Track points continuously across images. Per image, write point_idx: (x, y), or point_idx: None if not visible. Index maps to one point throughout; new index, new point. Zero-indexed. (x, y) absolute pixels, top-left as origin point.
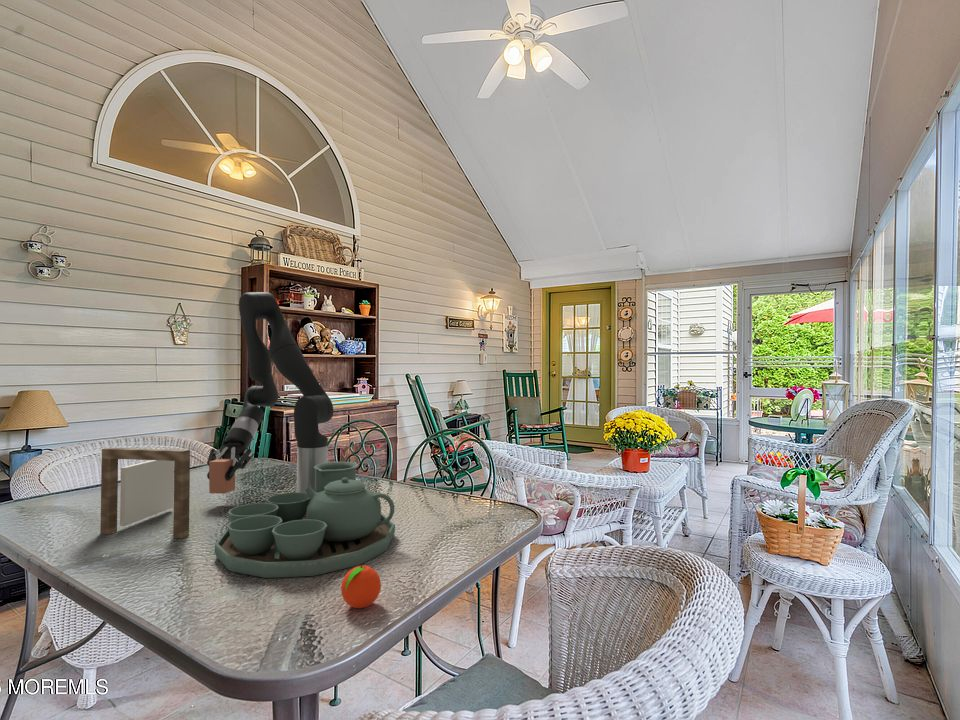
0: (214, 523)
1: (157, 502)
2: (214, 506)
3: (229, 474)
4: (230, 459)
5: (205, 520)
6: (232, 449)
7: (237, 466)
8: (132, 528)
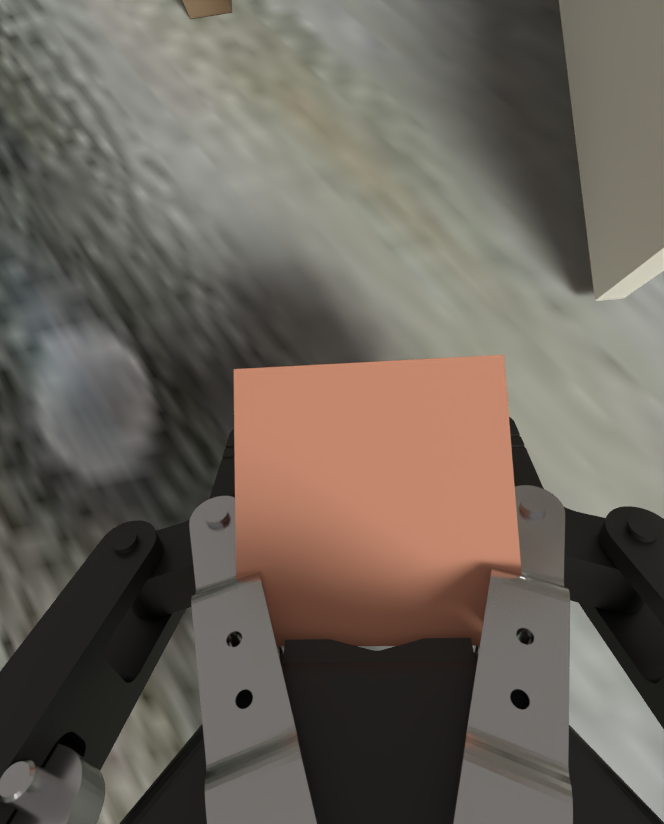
0: (188, 177)
1: (611, 125)
2: None
3: None
4: (265, 571)
5: (264, 205)
6: (282, 822)
7: (174, 533)
8: (529, 14)
